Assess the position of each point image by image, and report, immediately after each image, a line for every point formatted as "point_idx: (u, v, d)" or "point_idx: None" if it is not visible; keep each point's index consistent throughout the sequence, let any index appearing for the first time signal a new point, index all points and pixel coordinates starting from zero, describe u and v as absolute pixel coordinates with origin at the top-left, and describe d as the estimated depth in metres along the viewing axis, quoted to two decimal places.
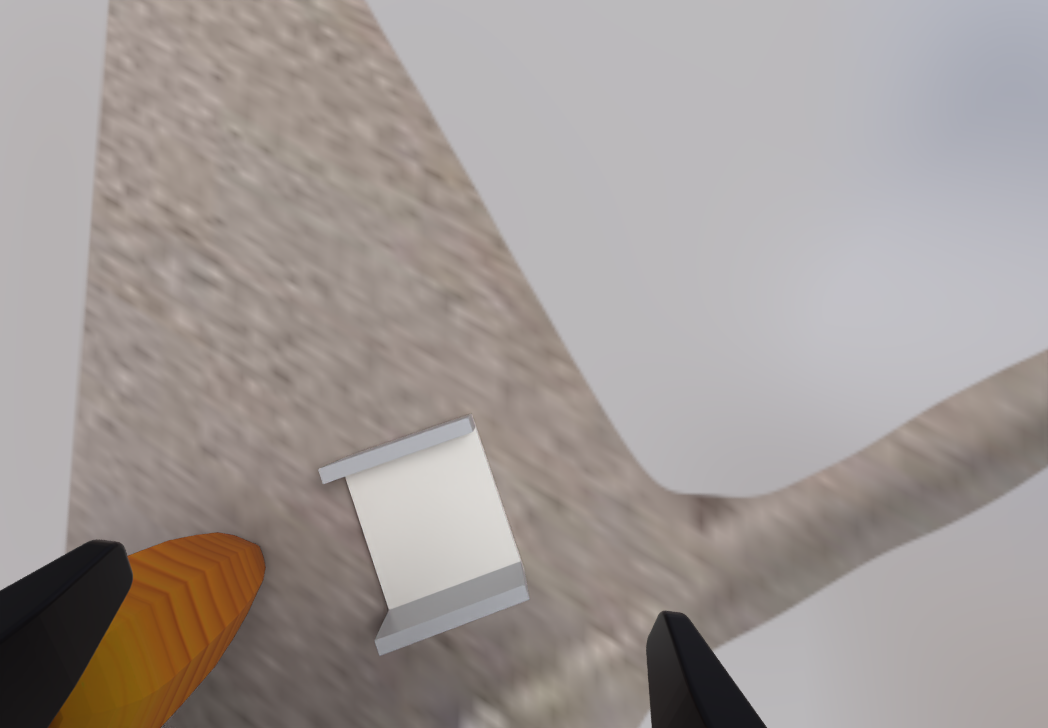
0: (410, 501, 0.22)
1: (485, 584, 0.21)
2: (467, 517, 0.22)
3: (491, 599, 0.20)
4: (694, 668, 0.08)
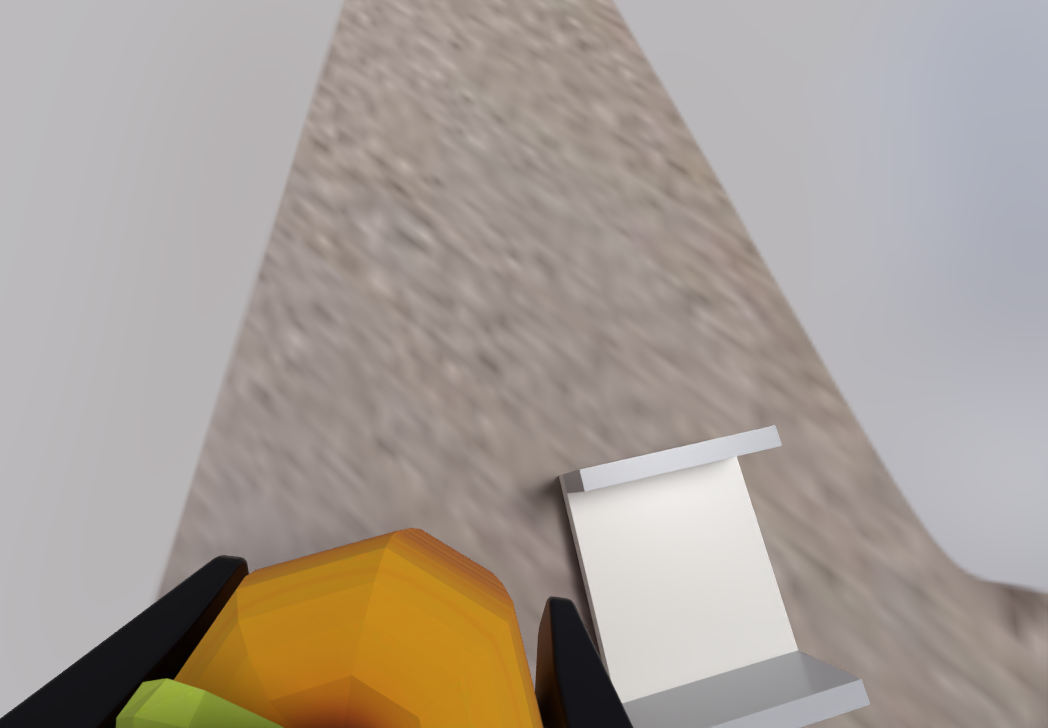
0: (651, 544, 0.16)
1: (773, 677, 0.15)
2: (726, 576, 0.16)
3: (815, 697, 0.13)
4: (565, 652, 0.07)
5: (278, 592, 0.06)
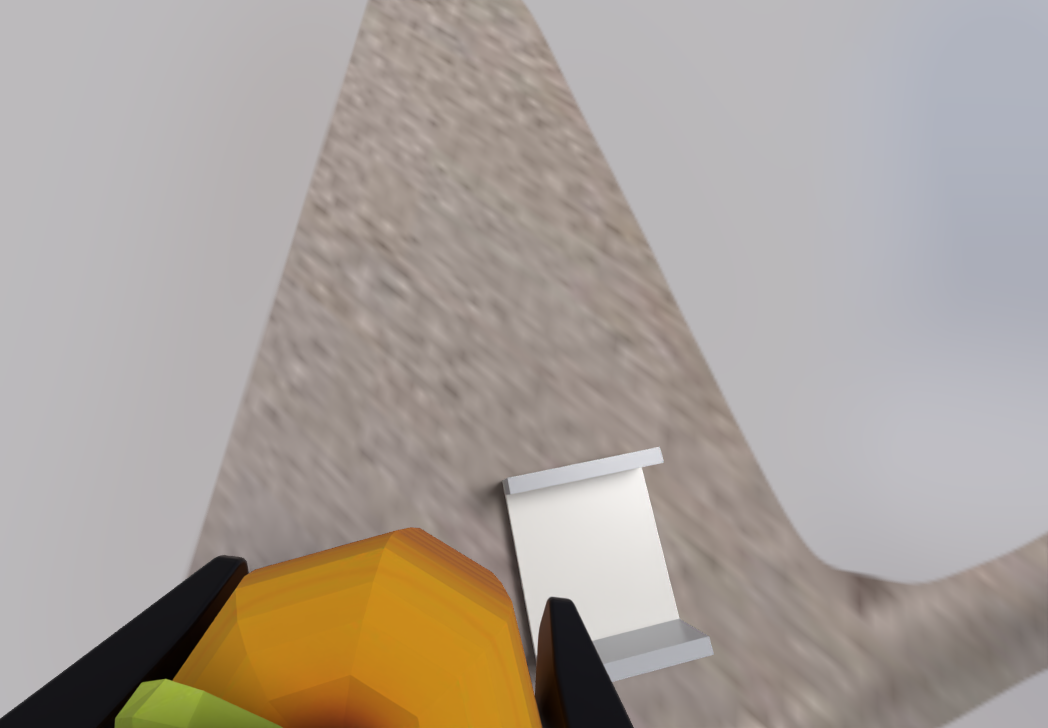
0: (570, 535, 0.21)
1: (652, 636, 0.19)
2: (626, 561, 0.21)
3: (673, 648, 0.18)
4: (565, 653, 0.07)
5: (277, 592, 0.06)
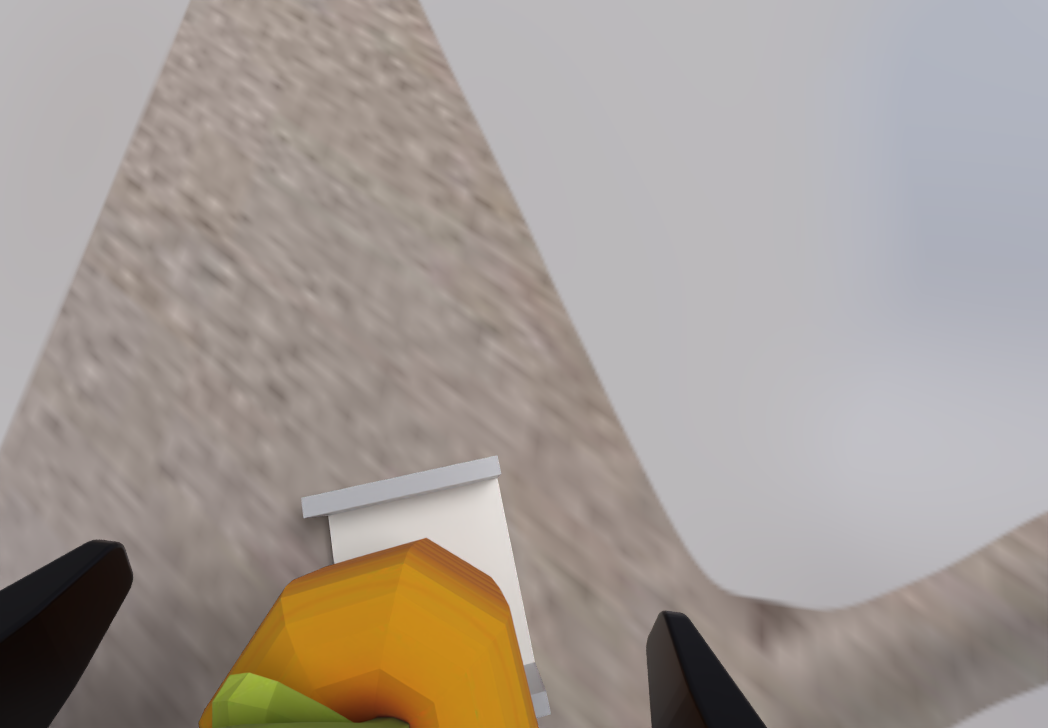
0: None
1: None
2: None
3: None
4: (694, 668, 0.08)
5: (316, 600, 0.07)
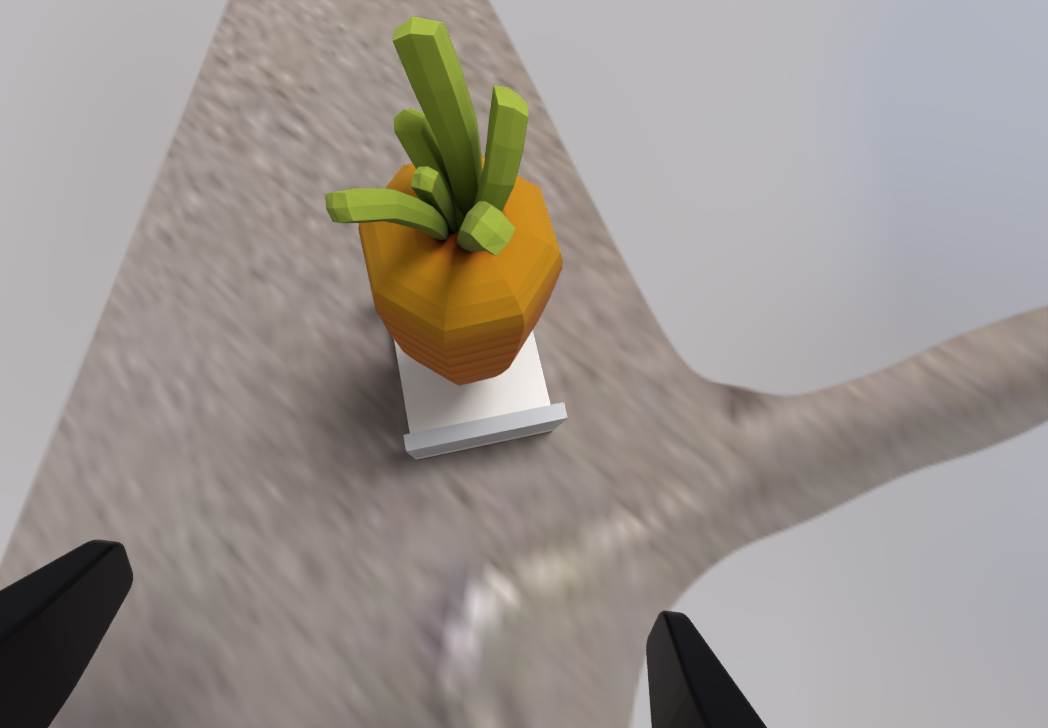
0: None
1: None
2: None
3: (528, 412, 0.19)
4: (694, 668, 0.08)
5: None
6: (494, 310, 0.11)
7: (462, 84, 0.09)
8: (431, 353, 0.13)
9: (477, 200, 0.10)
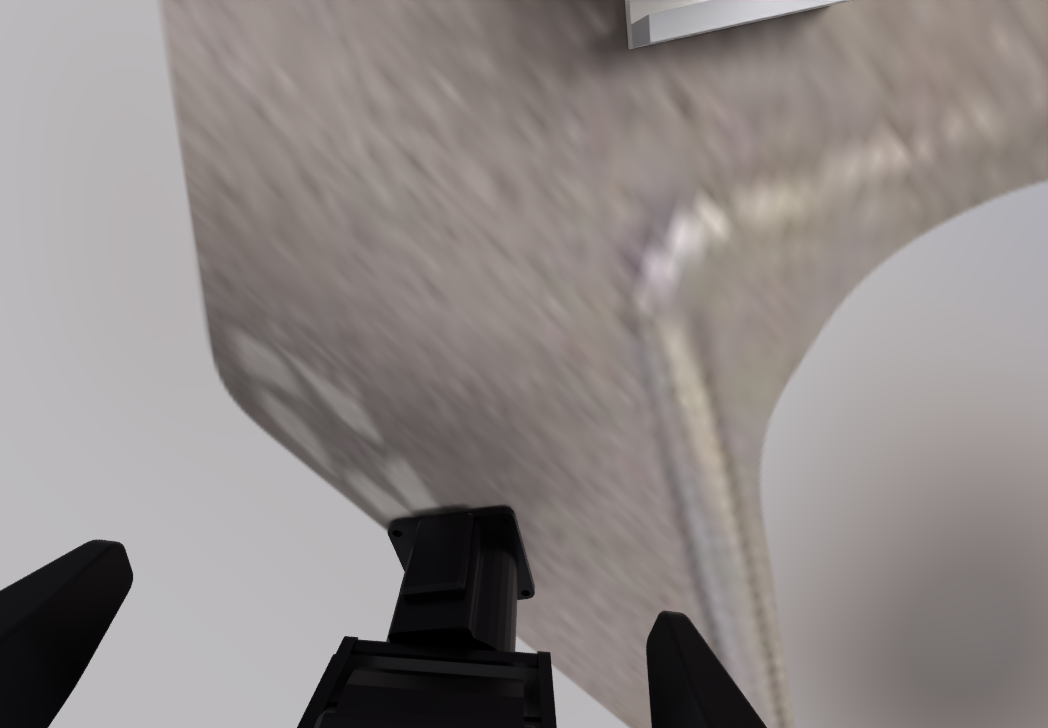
0: None
1: None
2: None
3: None
4: (694, 668, 0.08)
5: None
6: None
7: None
8: None
9: None
